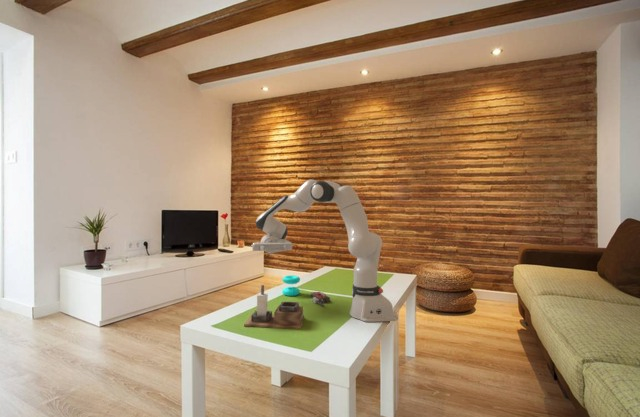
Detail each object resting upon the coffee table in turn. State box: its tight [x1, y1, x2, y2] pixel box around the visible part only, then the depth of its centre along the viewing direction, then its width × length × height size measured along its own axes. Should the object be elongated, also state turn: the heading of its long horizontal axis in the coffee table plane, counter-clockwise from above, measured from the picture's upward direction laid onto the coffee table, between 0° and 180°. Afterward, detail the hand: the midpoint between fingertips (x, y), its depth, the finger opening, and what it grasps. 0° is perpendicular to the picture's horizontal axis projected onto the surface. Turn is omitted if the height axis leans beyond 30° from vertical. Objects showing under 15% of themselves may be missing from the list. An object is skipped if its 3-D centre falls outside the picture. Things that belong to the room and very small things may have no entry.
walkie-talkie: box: [309, 291, 331, 308], centre depth 170 cm, size 9×4×20 cm
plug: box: [256, 284, 269, 316], centre depth 140 cm, size 4×5×15 cm
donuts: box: [282, 275, 301, 297], centre depth 184 cm, size 10×10×10 cm
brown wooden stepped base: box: [243, 301, 305, 330], centre depth 140 cm, size 24×13×8 cm, turn 86°
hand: (274, 248), depth 157 cm, fingers open, 8 cm apart
